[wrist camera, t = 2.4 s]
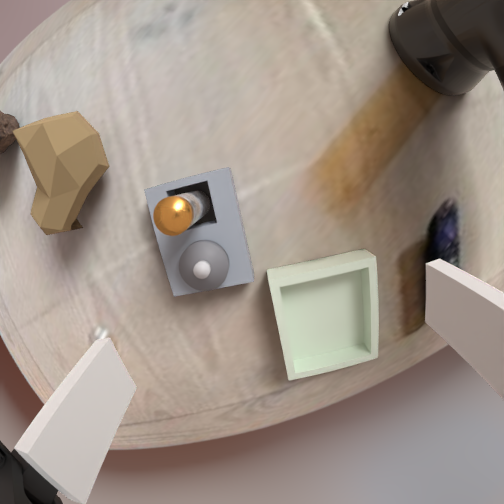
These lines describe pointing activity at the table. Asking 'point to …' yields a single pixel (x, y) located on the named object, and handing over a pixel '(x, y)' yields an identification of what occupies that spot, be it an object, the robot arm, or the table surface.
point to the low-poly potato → (61, 167)
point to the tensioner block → (205, 239)
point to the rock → (7, 130)
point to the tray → (326, 312)
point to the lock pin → (180, 212)
